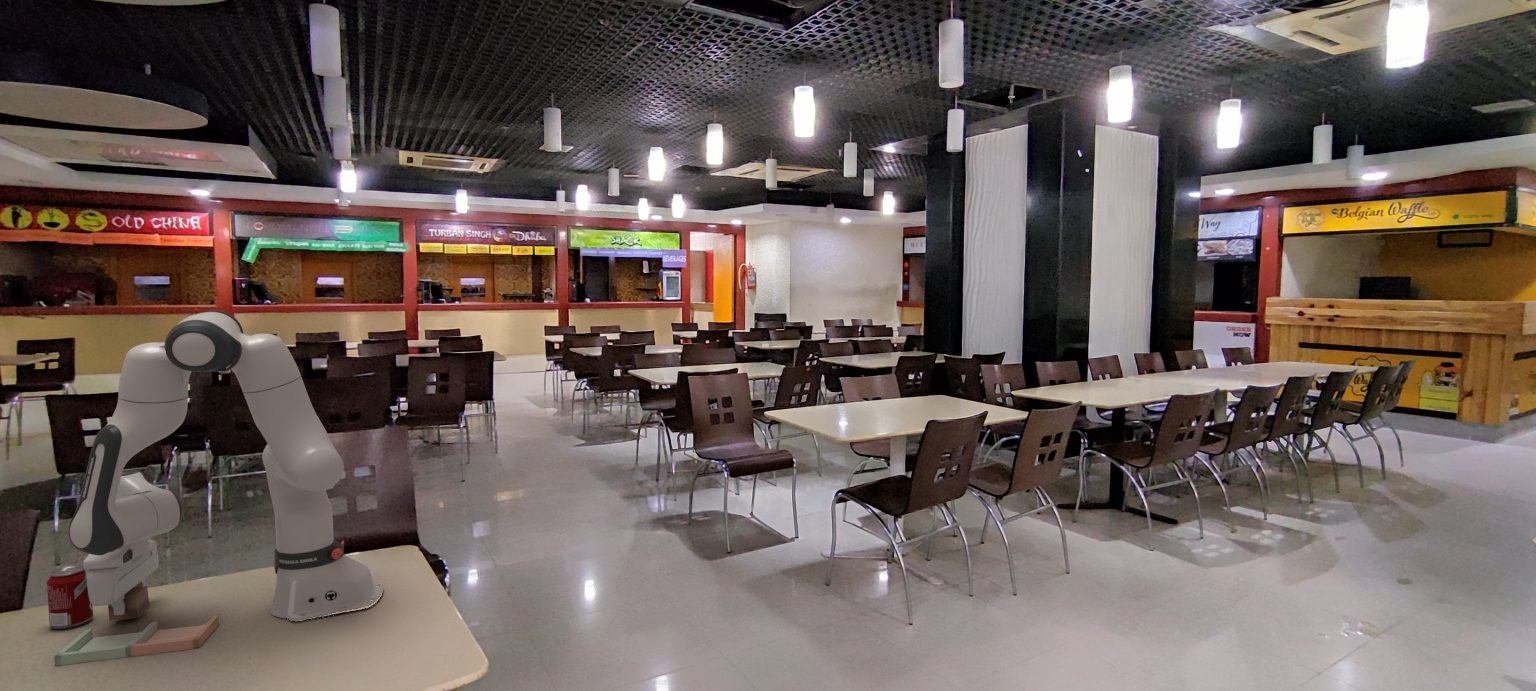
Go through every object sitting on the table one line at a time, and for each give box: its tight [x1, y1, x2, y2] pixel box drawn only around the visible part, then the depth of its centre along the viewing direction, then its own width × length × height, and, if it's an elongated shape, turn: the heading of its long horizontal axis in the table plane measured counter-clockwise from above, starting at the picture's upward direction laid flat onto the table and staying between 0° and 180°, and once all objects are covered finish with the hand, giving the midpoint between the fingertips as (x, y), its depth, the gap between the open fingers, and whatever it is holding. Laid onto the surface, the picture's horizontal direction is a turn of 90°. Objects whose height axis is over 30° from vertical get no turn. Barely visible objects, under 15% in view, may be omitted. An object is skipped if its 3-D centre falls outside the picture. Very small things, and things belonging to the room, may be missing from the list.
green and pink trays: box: [53, 614, 220, 667], centre depth 148 cm, size 23×11×2 cm, turn 109°
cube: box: [107, 585, 150, 622], centre depth 158 cm, size 5×5×5 cm
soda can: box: [46, 564, 94, 630], centre depth 155 cm, size 7×7×12 cm
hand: (129, 607), depth 158 cm, fingers closed on cube, 5 cm apart
